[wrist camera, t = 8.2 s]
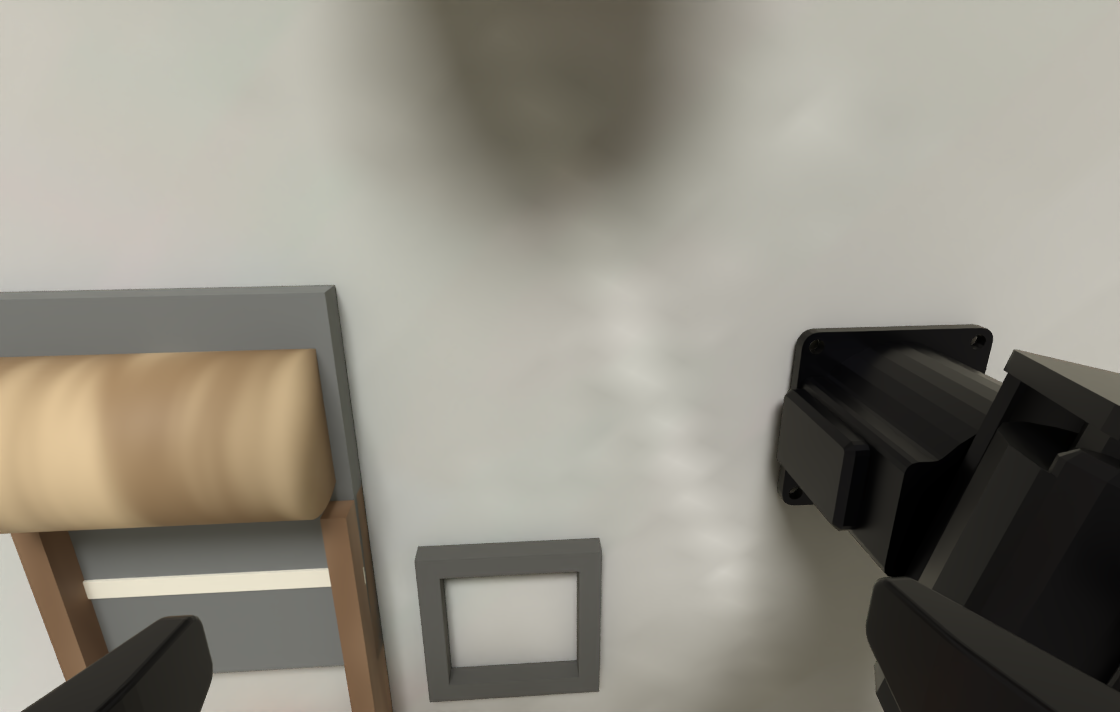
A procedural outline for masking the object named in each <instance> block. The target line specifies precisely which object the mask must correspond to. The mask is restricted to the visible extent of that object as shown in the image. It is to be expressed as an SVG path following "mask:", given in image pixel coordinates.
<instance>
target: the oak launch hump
mask: <svg viewBox="0 0 1120 712" xmlns="http://www.w3.org/2000/svg"><path fill="white" fill-rule="evenodd" d="M335 484H336V479H335V473H334V466H333V460H332V453H331V447H330V440H329V434H328V427H327V420H326V414H325V407H324V401H323V394H322V388H321V381H320V375H319V368H318V361H317V355H316V349H281V350H244V351H208V352H172V353H135V354H99V355H63V356H27V357H0V534H5V533H28V532H50V531H72V530H94V529H117V528H139V527H161V526H184V525H206V524H228V523H251V522H273V521H295V520H313V519H316V518H317V517H319V516H320V515H321V514H322V513H323V511H324V510H325V508H326V507H327V505H328V503H329V501H330V499H331V496H332V493H333V490H334V487H335Z"/></svg>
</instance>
